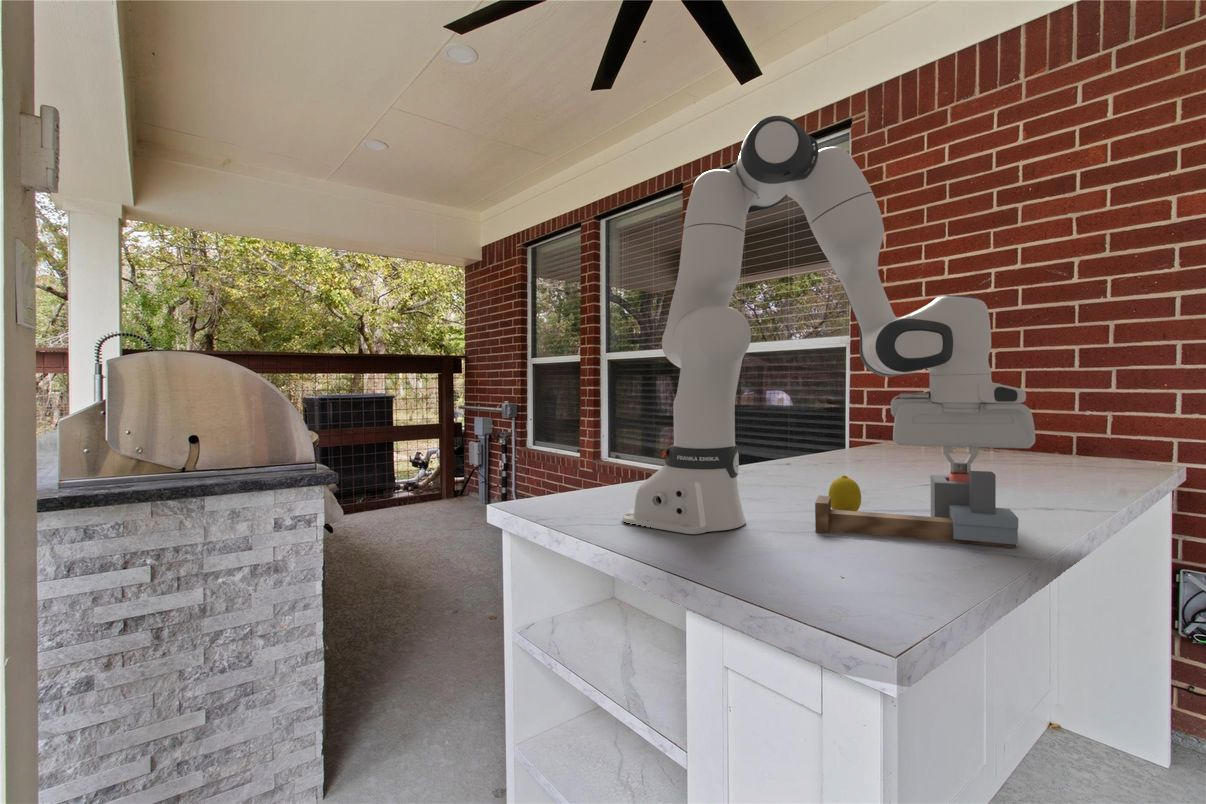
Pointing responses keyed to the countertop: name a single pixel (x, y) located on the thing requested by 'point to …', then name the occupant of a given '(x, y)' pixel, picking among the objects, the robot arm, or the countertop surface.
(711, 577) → the countertop surface
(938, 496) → the grey block
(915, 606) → the countertop surface
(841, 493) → the lemon
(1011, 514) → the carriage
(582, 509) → the countertop surface
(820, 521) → the rail
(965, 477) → the pink block
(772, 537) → the countertop surface
